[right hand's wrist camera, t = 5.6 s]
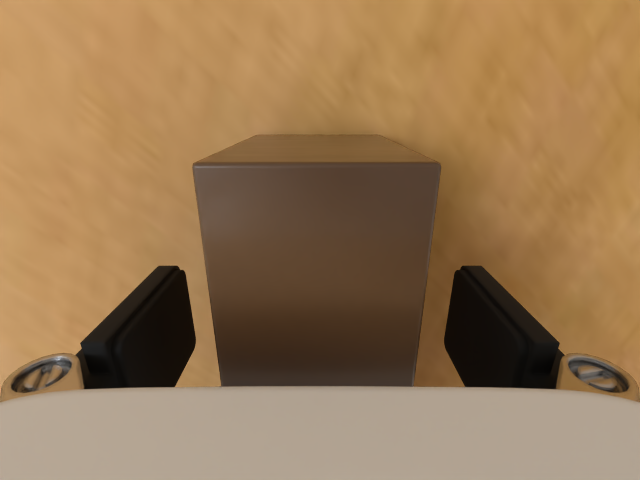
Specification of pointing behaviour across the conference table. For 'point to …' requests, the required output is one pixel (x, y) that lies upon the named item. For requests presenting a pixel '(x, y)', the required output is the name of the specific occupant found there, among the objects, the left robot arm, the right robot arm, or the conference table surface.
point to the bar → (317, 258)
